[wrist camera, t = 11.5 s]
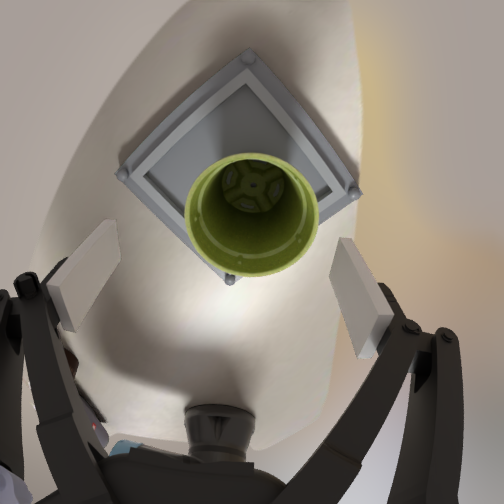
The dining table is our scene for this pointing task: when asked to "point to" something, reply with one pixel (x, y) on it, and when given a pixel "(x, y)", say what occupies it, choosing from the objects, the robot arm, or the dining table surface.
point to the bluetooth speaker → (96, 424)
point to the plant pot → (251, 215)
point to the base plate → (233, 145)
